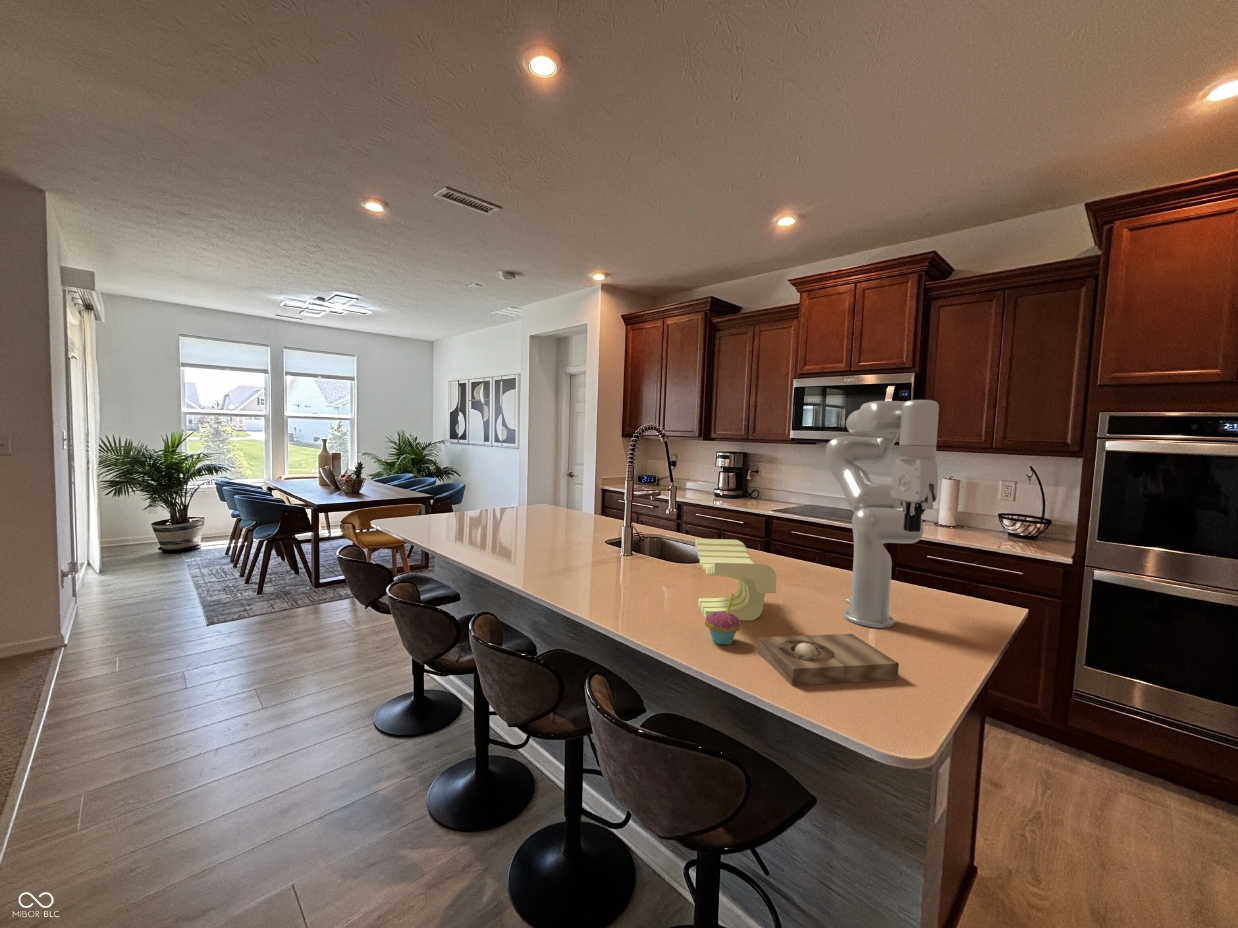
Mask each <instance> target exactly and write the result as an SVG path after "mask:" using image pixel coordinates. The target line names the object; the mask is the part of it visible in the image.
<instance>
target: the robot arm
mask: <svg viewBox="0 0 1238 928" xmlns="http://www.w3.org/2000/svg"><path fill="white" fill-rule="evenodd" d="M939 406H940V405H939V403H938V402H937V401H935V400H931V399H913V400H907V401H903V400H902V401H900V400H874V401H869V402H865V403H862V404H861V406H860V408H859V409H857V410H855V411H853V412H852V413H850V414H849V415H848V417H847V419H846V422H845V426H846V428H847V431H848V432H849V433H850V434H851V436H850V435H846V436H837V437H835V438H832V439H830V440H829V441H828V443H827V445H826V447H825V459H826V463H827V467H828V469H829V471H830V472H831V474H832V476H833V478H835V479H836V481H837V482H838V483H839V485H840V487H841V490H842V492H843V495H844V497H845V499H846V503H847V505H848V507H849V508H850V510H851V511H852V512H853V514H852V519H851V526H852V527H851V529H852V536H853V564H852V577H851V578H852V583H851V596H850V598H846V599H845V603H846V604H848V605H849V607H848V608H849V609H846V610H845V611H844V613H843V614H844V618H845V619H846V620H847V621H849V622H852V623H854V624H857V625H860V626H864V627H871V628H875V629H877V628H881V629H886V628H891V627H893V626H895V618H894V617H893V616H891V615H889V614H890V613H889V611H890V599H891V597H890V595H891V581H892V567H893V562H892V556H891V554H890V553H889V552H888V550H887V549H886V547H885V546H884V544H889V543H890V544H914V543H917V542H919V541H920V540H921V539H922V538H923V535H924V523H923V519H922V516H923V515H924V514H925V511H926V510H932V509H934V503H935V502H936V501H937V498H938V491H939V490H938V489H939V487H938V486H939V484H938V483H939V479H938V478H939V476H938V475H939V474H938V463H937V459H936V455H937V442H938V427H939V415H940V414H939V411H940V407H939ZM898 437H899V443H898V444H899V445H898V446H899V447H898V448H899V449H898V457H897V458H896V459H895V463H894V467H893V471H892V475H891V476H892V477H891V483H879V482H874V481H872V479H871V477H870V475H869V474H868V473H867V471H866V470H865V469H863V468H862V467H860V466H859V465H858V464H862V465H865V464H866V465H877V464H882V463H883V462H885V461H886V460H887V458H888V456H889V455H890V452H891V451H892V449H893V447H894V445H895V443H896V441H897V439H898Z"/></svg>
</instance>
